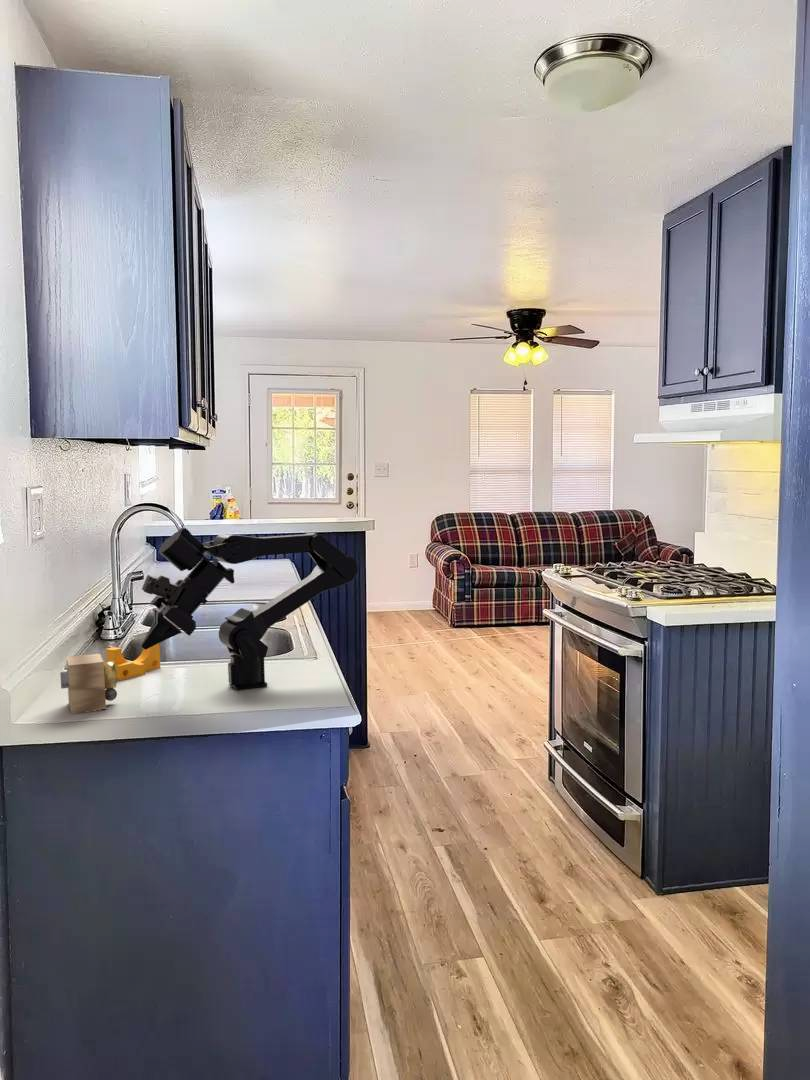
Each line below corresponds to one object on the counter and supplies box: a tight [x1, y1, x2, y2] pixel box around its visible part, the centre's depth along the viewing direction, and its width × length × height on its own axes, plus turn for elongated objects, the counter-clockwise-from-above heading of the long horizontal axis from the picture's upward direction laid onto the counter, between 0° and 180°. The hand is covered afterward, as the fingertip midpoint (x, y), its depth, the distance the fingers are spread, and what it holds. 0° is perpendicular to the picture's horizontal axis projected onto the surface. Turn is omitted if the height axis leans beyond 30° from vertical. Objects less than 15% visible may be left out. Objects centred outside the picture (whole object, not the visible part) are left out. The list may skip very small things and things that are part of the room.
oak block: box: [66, 653, 107, 715], centre depth 157 cm, size 6×8×9 cm
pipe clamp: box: [105, 643, 161, 681], centre depth 183 cm, size 12×4×6 cm, turn 145°
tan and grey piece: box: [59, 661, 118, 702], centre depth 157 cm, size 10×5×7 cm, turn 115°
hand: (143, 647), depth 161 cm, fingers closed
